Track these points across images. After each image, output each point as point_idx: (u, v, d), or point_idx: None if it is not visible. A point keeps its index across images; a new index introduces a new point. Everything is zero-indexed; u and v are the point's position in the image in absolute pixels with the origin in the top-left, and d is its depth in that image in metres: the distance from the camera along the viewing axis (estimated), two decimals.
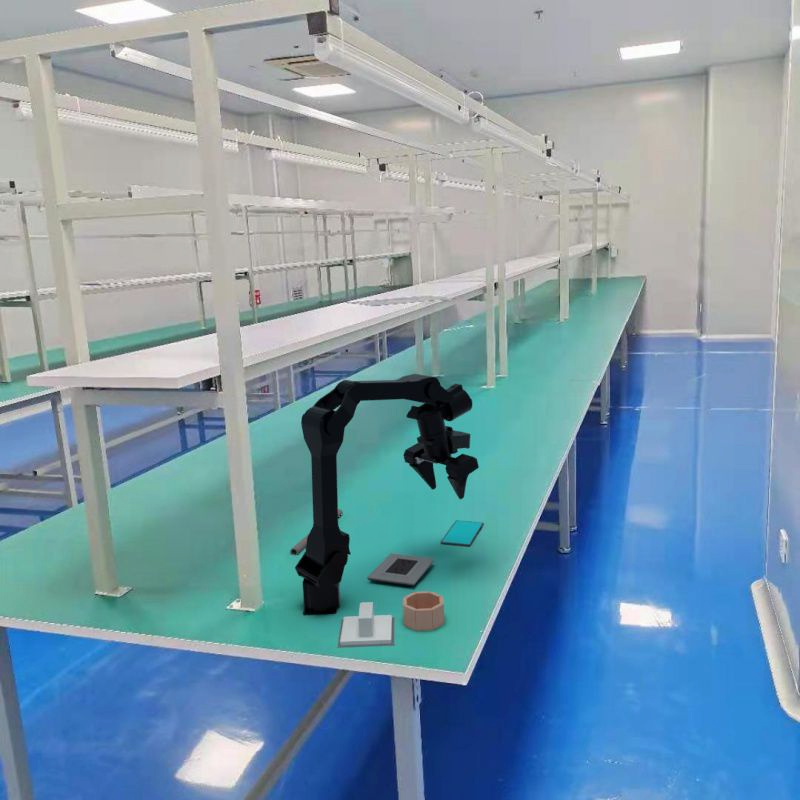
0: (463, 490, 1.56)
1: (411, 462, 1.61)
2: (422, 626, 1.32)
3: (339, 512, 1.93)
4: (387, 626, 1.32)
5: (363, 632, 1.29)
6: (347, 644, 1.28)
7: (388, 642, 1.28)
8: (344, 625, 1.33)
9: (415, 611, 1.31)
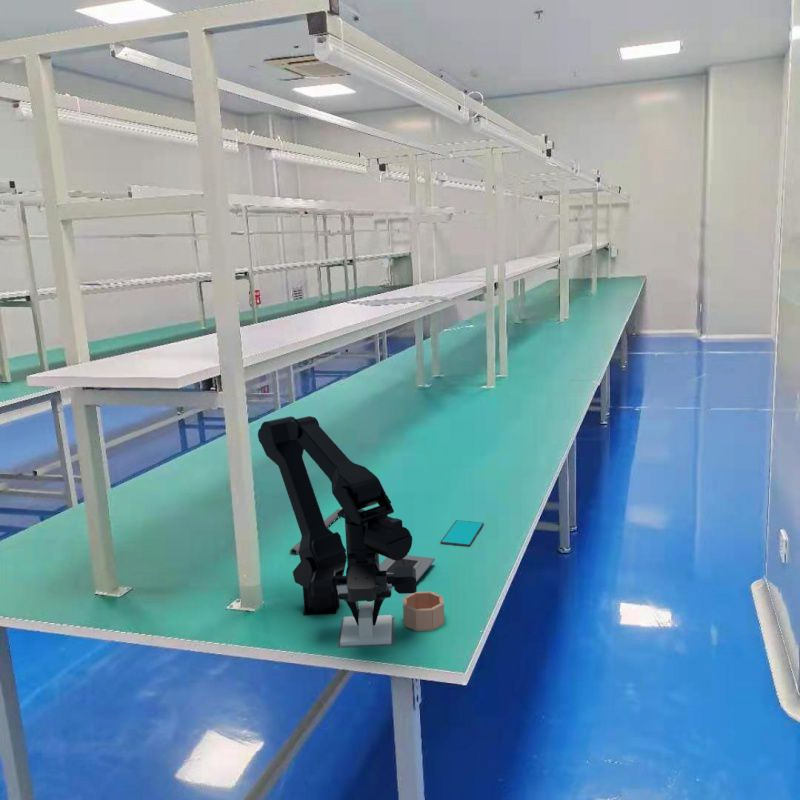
0: None
1: None
2: (422, 626, 1.32)
3: None
4: (387, 626, 1.32)
5: (363, 632, 1.29)
6: (347, 644, 1.28)
7: (388, 642, 1.28)
8: (344, 625, 1.33)
9: (415, 611, 1.31)
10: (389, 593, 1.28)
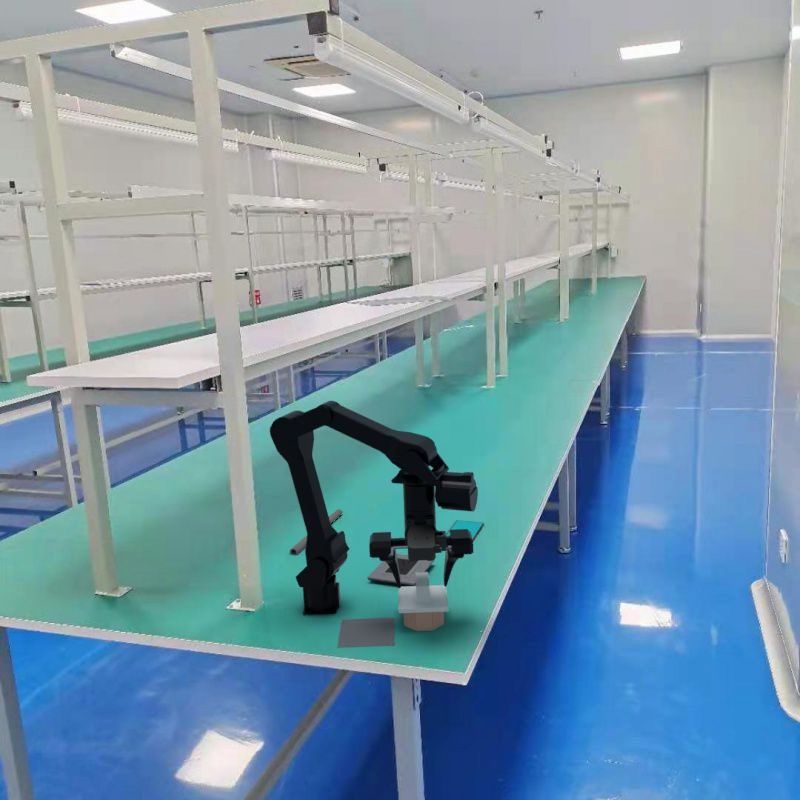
0: (395, 578, 1.33)
1: None
2: (422, 626, 1.32)
3: (339, 512, 1.92)
4: (443, 595, 1.35)
5: (420, 600, 1.31)
6: (405, 611, 1.30)
7: (445, 610, 1.30)
8: (400, 594, 1.36)
9: None
10: None
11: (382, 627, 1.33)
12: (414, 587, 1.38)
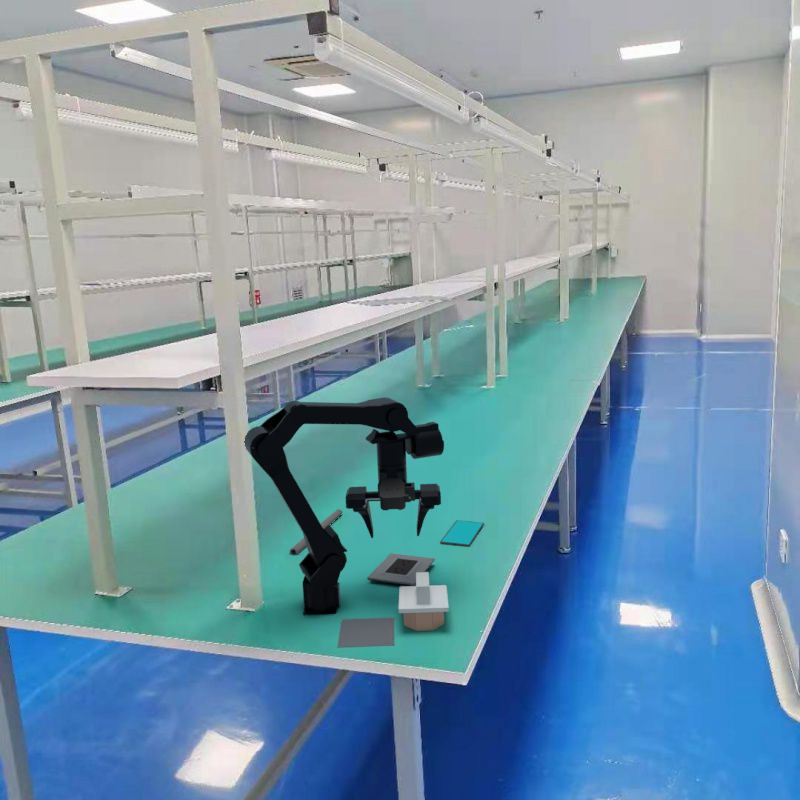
0: (368, 528, 1.45)
1: None
2: (422, 626, 1.32)
3: (339, 512, 1.92)
4: (443, 595, 1.35)
5: (421, 600, 1.31)
6: (405, 611, 1.30)
7: (445, 610, 1.30)
8: (400, 594, 1.36)
9: None
10: (432, 505, 1.43)
11: (382, 627, 1.33)
12: (415, 587, 1.38)
